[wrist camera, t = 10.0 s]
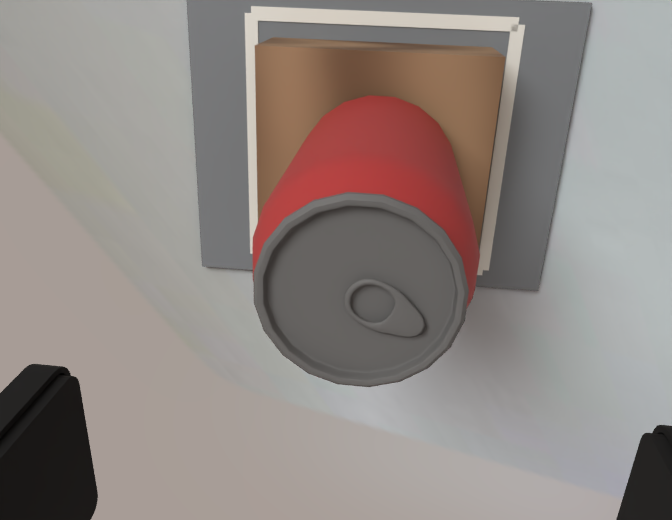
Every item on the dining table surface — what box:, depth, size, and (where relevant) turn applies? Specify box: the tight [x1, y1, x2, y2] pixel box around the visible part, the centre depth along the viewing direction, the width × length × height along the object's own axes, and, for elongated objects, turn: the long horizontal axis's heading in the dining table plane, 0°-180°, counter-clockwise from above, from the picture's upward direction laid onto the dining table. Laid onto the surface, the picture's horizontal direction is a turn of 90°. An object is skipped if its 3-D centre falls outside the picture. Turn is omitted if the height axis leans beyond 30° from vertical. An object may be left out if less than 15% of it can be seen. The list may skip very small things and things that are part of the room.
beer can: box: [252, 95, 480, 387], centre depth 21 cm, size 7×7×12 cm
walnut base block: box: [255, 37, 506, 247], centre depth 29 cm, size 10×10×4 cm
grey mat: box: [187, 0, 592, 291], centre depth 31 cm, size 18×14×1 cm
